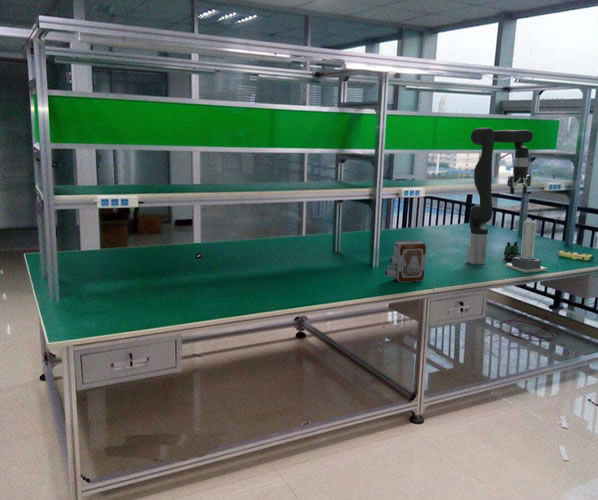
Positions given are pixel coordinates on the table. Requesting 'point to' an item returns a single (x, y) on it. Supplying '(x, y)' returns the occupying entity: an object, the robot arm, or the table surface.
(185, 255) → the table surface
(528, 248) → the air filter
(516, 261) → the mount
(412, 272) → the cine camera
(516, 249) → the binoculars
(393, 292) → the table surface
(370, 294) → the table surface
